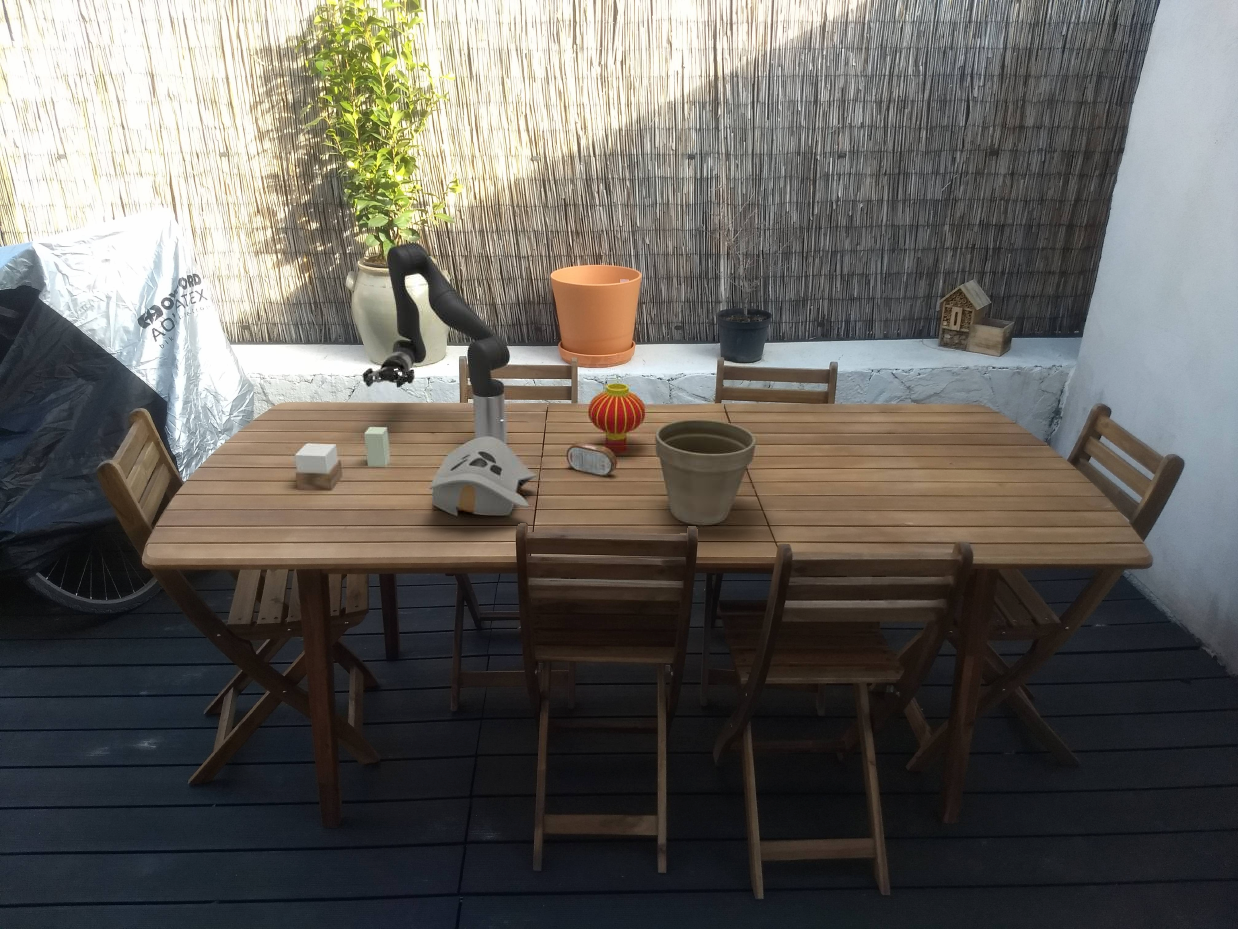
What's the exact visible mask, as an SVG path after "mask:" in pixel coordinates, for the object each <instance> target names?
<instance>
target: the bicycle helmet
mask: <svg viewBox="0 0 1238 929" xmlns="http://www.w3.org/2000/svg"><path fill="white" fill-rule="evenodd" d="M444 458H445V459H444V460H443V462H442V464H441V466H440V467H439V469H438V470H437V472H436V475H435V477H434V478H433V480H432V482H431V483H430V486H429V490H432V505H433V506H435V507H436V508H438V509H440V510H442V511H444V512H446V513H448V514H451V515H453V516H456V517H457V516H458V515H459V512H460V511H464V512H468V513H472V514H475V515H481V516H482V515H483V516H510V515H511V512H512V511H513V508H514V506H517V507H520V508H530V505H529V503H528V502H527V501H526V498H524V497H523V496H522V495H520V493H521V492H522V491H521V490H522V487H524V485H526V484H527V483H528V482H529V481H531V480H532V479H533V478H538V477H539V475H538V474H536V473H534V472H532V471H531V470H530V469H529V468H528V467H527V466H526V465H525V464H524V463H523V462H522V461H521V459H520V458H519V457H518V456H517V454H515V452H514V451H513V450H512V449H511V448H510V447H509V446H508V444H507V445H506V444H505V443H503V442H502V441H500V440H499V439H496V438H494V437H479V438H476V439H475V438H473V439H472V440H469V441H467V442H465V443H464V444H462V445H460V446H458V447H457V448H455V449H453V451H451V452H450V453H449V454H447V455H446V456H445V457H444Z"/></svg>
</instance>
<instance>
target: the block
mask: <svg viewBox="0 0 1238 929" xmlns="http://www.w3.org/2000/svg"><path fill="white" fill-rule="evenodd" d="M388 434H389V433H388V427H385V426H384V427H381V426H379V427H378V426H369V427H368V428H367V429H366V431H365V432H364V441H365V442H364V443H365V451H366V460H367V461H366V462H367V467H381V468H382V467H383V468H385V467H387V465H388V464H389V462H390V461H391V456H390V455H391V453H390V442H389V435H388Z"/></svg>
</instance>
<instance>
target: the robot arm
mask: <svg viewBox="0 0 1238 929" xmlns="http://www.w3.org/2000/svg"><path fill="white" fill-rule="evenodd" d="M386 257H387V260H386V261H387V262H386V263H387V267H388V273H389V278H390V284H391V288H392V293H393V298H394V303H395V308H396V310H395V311H396V326H397V327H396V330H397V334H398V335H399V336H401V337H402V338H403V339H398V340H396V341H395V342H394V343H393V346H392V354H390V355H389V356H388V357H387V358H386V359H385V361H384V362H382V364H381V366H380V369H377V370H373V368H371V367H369V368H367V370H365V371H364V372H363V373H362V380H363V383H365V386H366V387H371V386H372V385H373V383H383V382H389V383H394V384H395V385H396V388H401V387H402V386H403V385H405V384H406V383H407V384H412V383H413V381H414V380H415V369H413V368H412V367H413V366H414V364H421V363H423V362H424V361H425V359H426V356H427V349H426V346H425V342H424V340H423V336H422V333H421V325H420V324H421V323H420V321H421V320H420V311H419V307H418V304H417V303H416V302H415V300H414V299H413V297H412V296H411V294H410V293H409V291H408V290H407V287H406V286H407V285H406V277H409V276H412V275H416V274H418V275H421V277H422V278H423V279H424V280H425V282H426V283H427V286H428V287H427V288H428V289H427V294H428V295H427V296H428V304H429V307H430V308H431V310H432V311H433V312H434V314H435V315H436V316H437V317H438V318H439V319H440V321H441V322H442V323H443V324H444V325H446V326H447V327H449V328H451V329H453V330H455V331H457V332H459V333H461V334H463V335H465V336H467V337H469V338H471V339H472V340H473V342H472V341H471V343H470V344H469V345H468V347H467V354H466V356H467V367H468V369H467V370H468V376H469V378H468V379H469V383H470V386H471V388H472V402H473V403H472V404H473V407H472V408H473V425H474V439H476V438H479V437H494V438H496V439H499V440H500V441H502V442H503V443H505V444H506V445H507V446H508V429H507V426H508V425H507V424H508V423H507V422H508V421H507V414H506V408H505V407H506V404H505V385H504V382H502V381H501V380H499V379H496V378H492V372H491V371H496V370H498V369H501V368H504V367H505V366H507V365H508V364H509V362H510V359H511V354H510V350H509V348H508V346H507V344H506V342H505V341H504V340H503V339H502V338H501V337H500V336H499V335H498V334H497V333H496V331H494V330H493V329H492V328H491V327H490V326H489V325H487V324H486V323H485V322H484V321H483V320H482V318H481V317H480V316H479V315H478V314H477V313H476V312H475V311H474V310H473V308H472V307H471V306H470V305H469V304H468V302H467V301H466V300H465V299H464V298H463V296H462V295H461V294H460V293H459V292H458V291H457V290H456V288H455V287H454V286H453V285H452V283H450V282H449V281H448V279H447V277H445V276H444V275H443V273H442V272H441V271H440V269H439V268H438V266H437V265H436V263H435V262H434V261H433V259H432V257H431V256H430V254H429V253H428V252H427V251H426V249H425V248H424V247H423V246H422V245H421V244H420V243H418V242H407V243H404V244H399V245H395V246H391V247H390V248H389V249H388V252H387V256H386Z"/></svg>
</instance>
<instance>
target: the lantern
mask: <svg viewBox="0 0 1238 929" xmlns="http://www.w3.org/2000/svg"><path fill="white" fill-rule="evenodd" d="M617 358H619V353H618V354H617ZM616 379H617V381H616V383H615V382H614V383H609V384H607V385H606V387H605V388H606V389H605V391H602V392H600V393H598V394H597V395H595V396H594V397H593V398H592V399H591V401H590V402H589V405H588V411H587V415H588V419H589V421H590V422H591V423H592V425H594V426H595V427H596V429H598V430H600V431H603V432H605V447H606V448H608V449H609V450H611V451H612V452H613V453H614V454H623V453H625V452H626V450H627V436H628V433H630V432H632V431H635V430H636V429H638V428H639V427H640V425H642V423H643V422H644V421H645V418H646V406H645V403H644V402H643V400H642V399H641V398H640V397H639V396H638V395H637V394H635V393H633V392H631V391H630V390H629V388H630V387H629V385H627V384H625V383H619V375H617V378H616Z"/></svg>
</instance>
